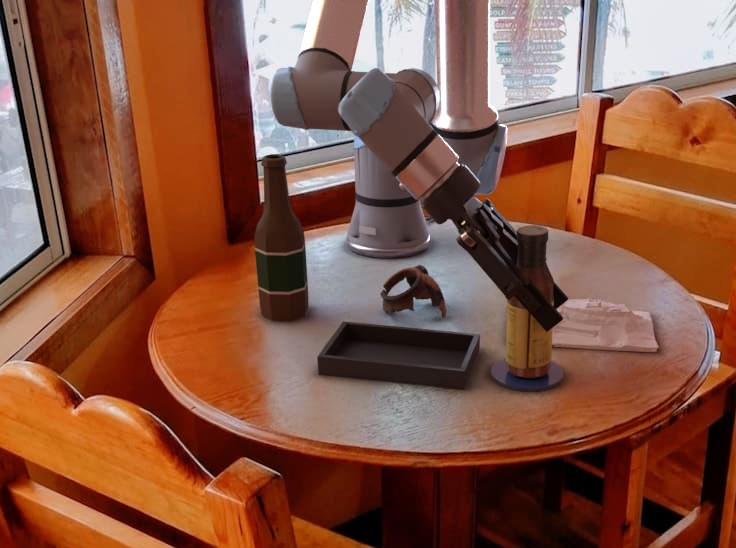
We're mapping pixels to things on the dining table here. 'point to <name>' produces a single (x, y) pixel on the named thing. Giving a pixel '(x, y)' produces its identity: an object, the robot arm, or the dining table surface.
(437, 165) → the robot arm
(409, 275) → the brown broken pot
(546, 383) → the coaster
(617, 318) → the terrain model
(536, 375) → the sauce bottle
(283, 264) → the beer bottle
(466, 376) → the tray
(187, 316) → the dining table surface
